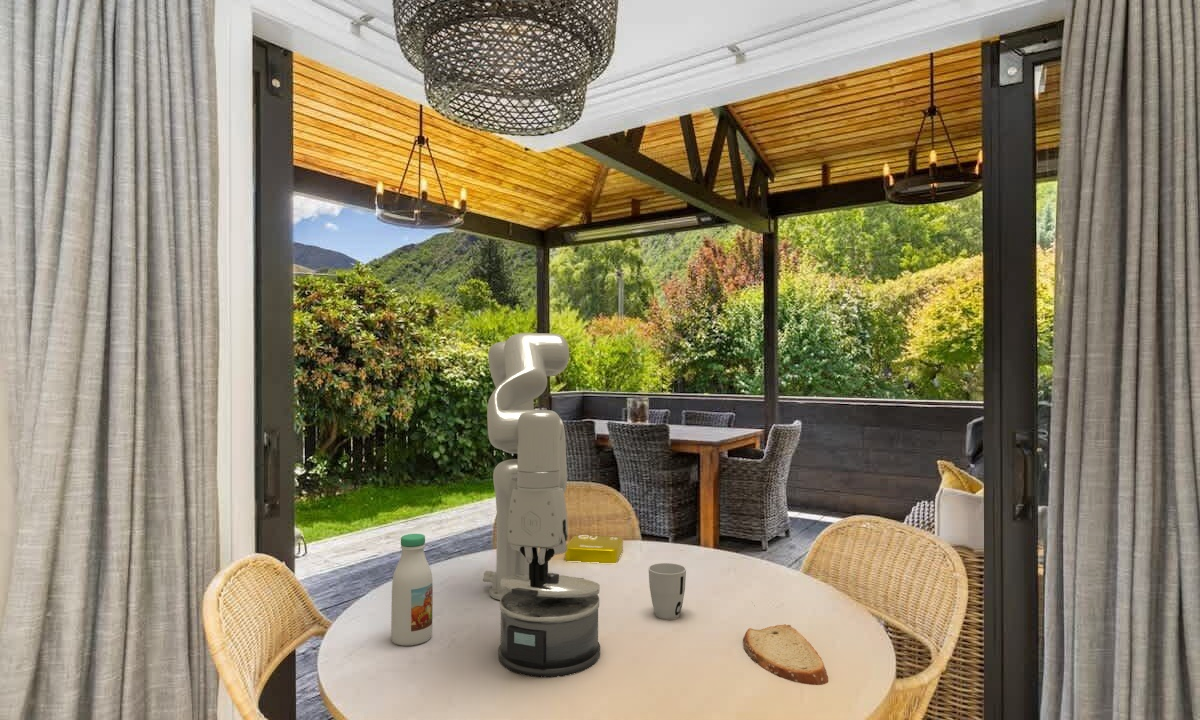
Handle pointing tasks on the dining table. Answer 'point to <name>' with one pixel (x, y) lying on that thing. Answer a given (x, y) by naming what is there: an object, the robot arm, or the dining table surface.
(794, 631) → the slice of bread
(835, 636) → the dining table surface
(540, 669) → the pot
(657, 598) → the cup
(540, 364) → the robot arm
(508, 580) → the lid
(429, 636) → the milk bottle
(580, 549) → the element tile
